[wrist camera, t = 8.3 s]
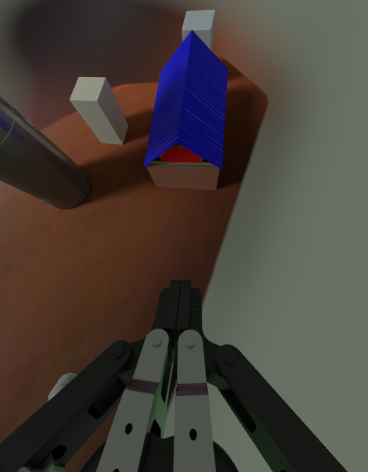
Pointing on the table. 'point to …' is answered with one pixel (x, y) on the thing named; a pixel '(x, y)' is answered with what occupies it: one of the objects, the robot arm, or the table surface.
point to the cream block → (100, 109)
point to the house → (188, 119)
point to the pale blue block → (200, 25)
